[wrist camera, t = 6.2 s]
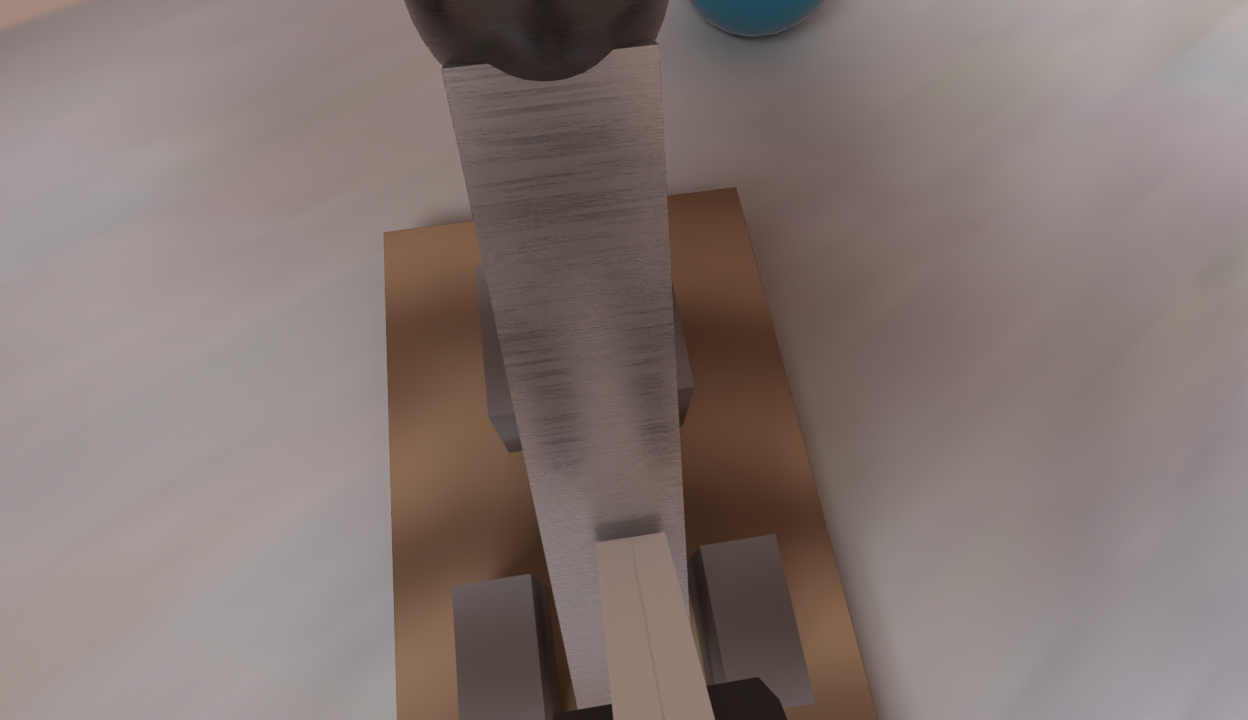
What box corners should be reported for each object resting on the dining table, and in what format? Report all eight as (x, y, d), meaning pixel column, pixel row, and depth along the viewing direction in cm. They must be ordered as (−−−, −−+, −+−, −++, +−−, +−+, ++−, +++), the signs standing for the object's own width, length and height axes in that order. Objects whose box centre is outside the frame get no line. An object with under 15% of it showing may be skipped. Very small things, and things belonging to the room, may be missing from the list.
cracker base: (923, 975, 19) (1160, 1236, 11) (429, 1078, 19) (267, 1451, 10) (728, 215, 29) (773, 41, 21) (399, 259, 28) (304, 94, 20)
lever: (717, 721, 18) (695, -253, 7) (563, 749, 17) (324, -221, 7) (685, 595, 21) (640, -192, 11) (556, 617, 21) (386, -170, 11)
